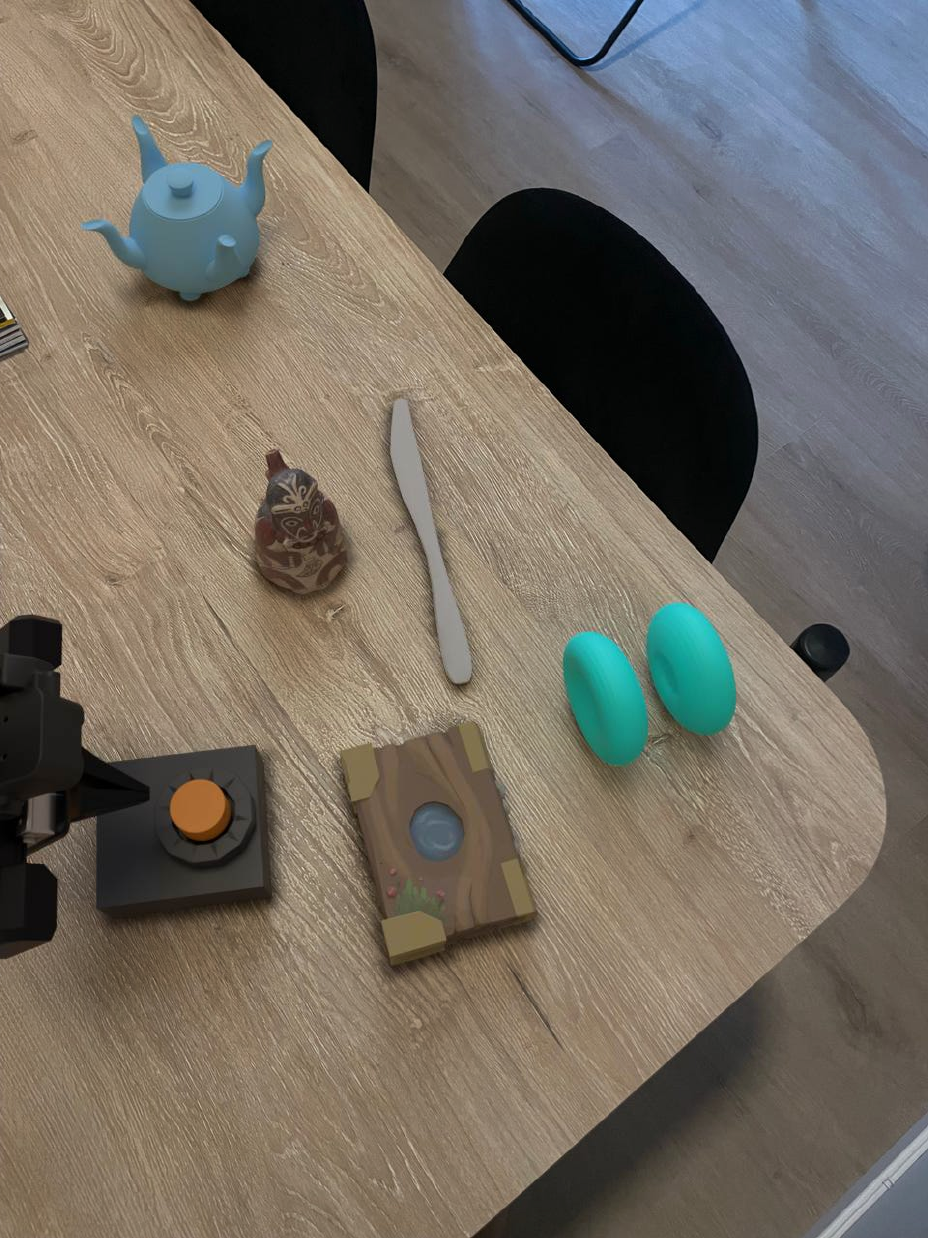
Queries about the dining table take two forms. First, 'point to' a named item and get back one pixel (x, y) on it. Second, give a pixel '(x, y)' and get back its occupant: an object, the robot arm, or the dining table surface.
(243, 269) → the teapot
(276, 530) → the figurine
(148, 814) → the black button base
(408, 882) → the book
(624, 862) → the dining table surface
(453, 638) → the butter knife
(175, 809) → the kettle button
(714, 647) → the donuts
